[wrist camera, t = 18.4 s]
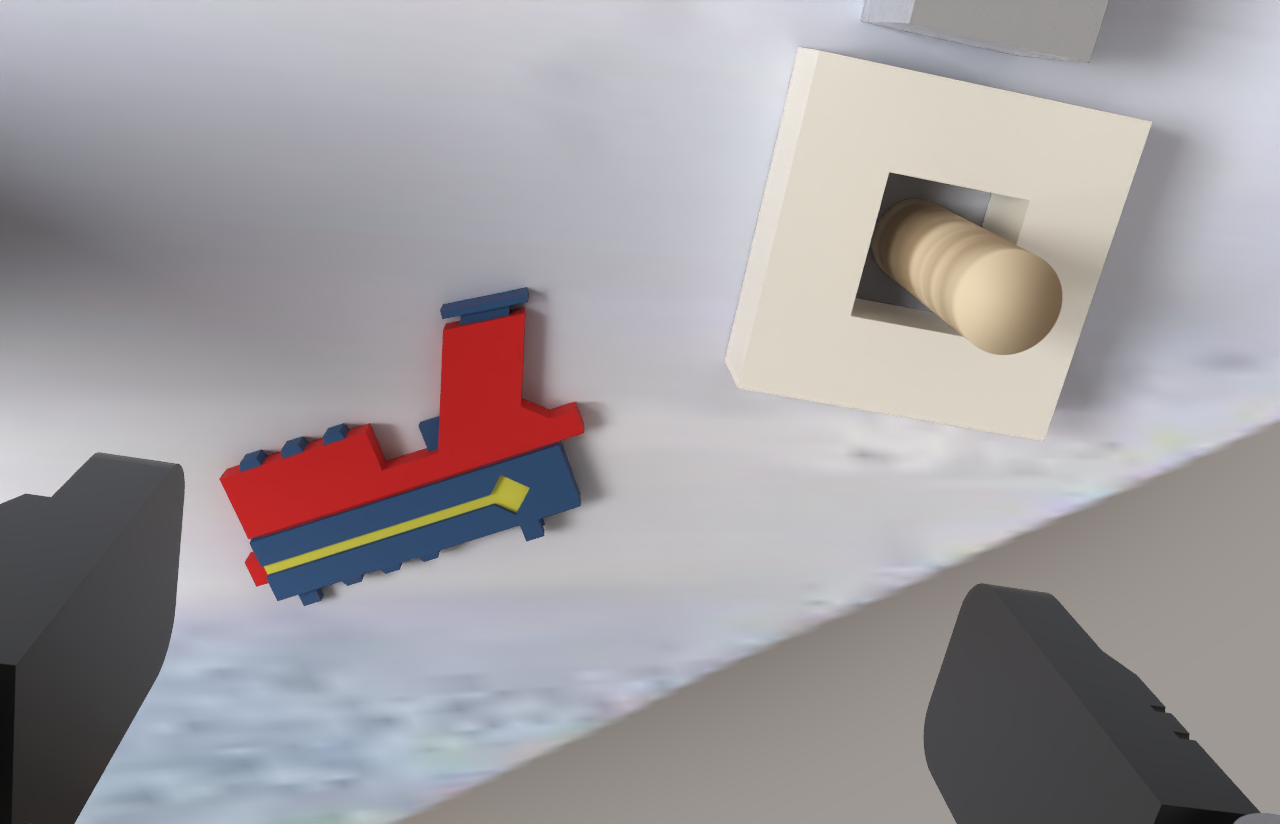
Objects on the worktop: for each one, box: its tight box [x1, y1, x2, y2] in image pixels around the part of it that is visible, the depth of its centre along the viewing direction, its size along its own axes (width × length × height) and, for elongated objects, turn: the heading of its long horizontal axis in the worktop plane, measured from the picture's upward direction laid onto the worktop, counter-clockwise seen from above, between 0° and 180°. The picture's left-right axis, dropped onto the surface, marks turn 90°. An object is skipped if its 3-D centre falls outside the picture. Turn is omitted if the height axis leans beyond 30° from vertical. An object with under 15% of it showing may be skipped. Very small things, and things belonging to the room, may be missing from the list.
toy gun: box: [220, 287, 584, 606], centre depth 44 cm, size 15×2×10 cm
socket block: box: [725, 47, 1152, 441], centre depth 42 cm, size 12×12×4 cm
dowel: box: [872, 199, 1062, 355], centre depth 39 cm, size 3×3×10 cm
